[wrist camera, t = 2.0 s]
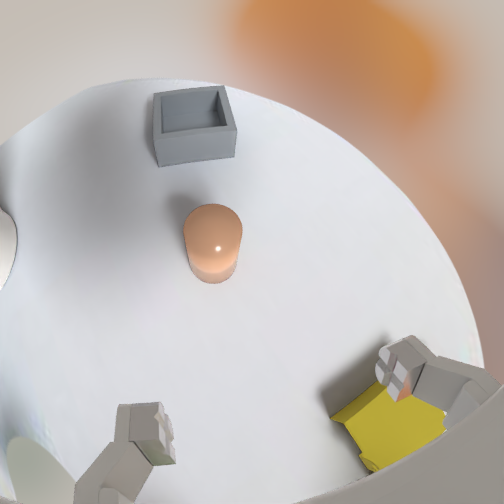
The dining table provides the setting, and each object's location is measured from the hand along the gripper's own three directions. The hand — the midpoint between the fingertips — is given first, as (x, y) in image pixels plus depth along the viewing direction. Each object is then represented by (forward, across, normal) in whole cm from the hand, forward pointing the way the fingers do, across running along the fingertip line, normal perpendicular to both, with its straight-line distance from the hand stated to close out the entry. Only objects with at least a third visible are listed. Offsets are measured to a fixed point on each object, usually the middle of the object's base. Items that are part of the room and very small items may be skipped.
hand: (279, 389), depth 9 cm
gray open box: (+36, 0, -9) cm, 37 cm away
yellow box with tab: (+8, -16, +21) cm, 28 cm away
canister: (+22, 0, +5) cm, 23 cm away
